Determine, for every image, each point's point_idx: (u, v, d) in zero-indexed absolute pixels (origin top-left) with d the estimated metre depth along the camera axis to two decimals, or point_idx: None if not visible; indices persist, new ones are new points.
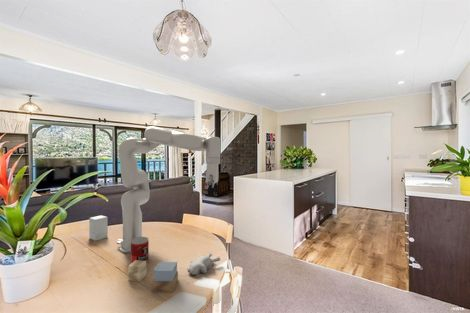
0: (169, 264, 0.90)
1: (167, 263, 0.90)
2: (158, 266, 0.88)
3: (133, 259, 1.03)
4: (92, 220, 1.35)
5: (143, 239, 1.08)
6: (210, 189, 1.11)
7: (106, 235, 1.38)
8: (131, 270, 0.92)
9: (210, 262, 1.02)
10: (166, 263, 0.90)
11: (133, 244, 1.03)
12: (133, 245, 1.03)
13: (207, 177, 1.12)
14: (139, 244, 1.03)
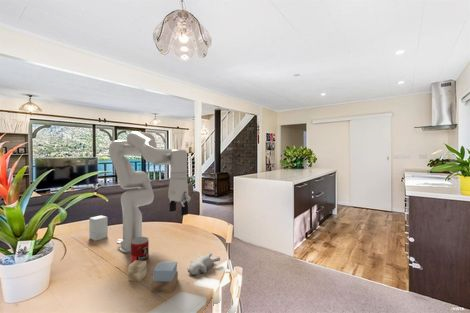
0: (169, 264, 0.90)
1: (167, 263, 0.90)
2: (158, 266, 0.88)
3: (133, 259, 1.03)
4: (92, 220, 1.35)
5: (143, 239, 1.08)
6: (185, 208, 1.01)
7: (106, 235, 1.38)
8: (131, 270, 0.92)
9: (210, 262, 1.02)
10: (165, 263, 0.90)
11: (133, 244, 1.03)
12: (133, 245, 1.03)
13: (181, 195, 1.00)
14: (139, 244, 1.03)
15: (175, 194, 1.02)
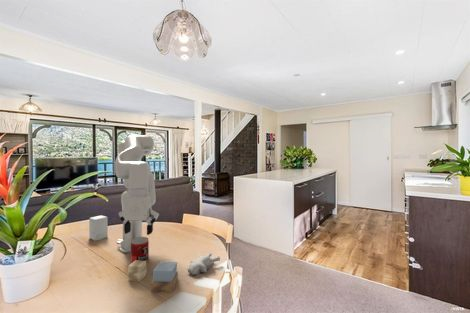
0: (169, 264, 0.90)
1: (167, 263, 0.90)
2: (158, 266, 0.88)
3: (133, 259, 1.03)
4: (92, 220, 1.35)
5: (143, 239, 1.08)
6: (151, 226, 0.93)
7: (106, 235, 1.38)
8: (131, 270, 0.92)
9: (210, 262, 1.02)
10: (165, 263, 0.90)
11: (133, 244, 1.03)
12: (133, 245, 1.03)
13: (147, 213, 0.92)
14: (139, 244, 1.03)
15: (138, 213, 0.91)
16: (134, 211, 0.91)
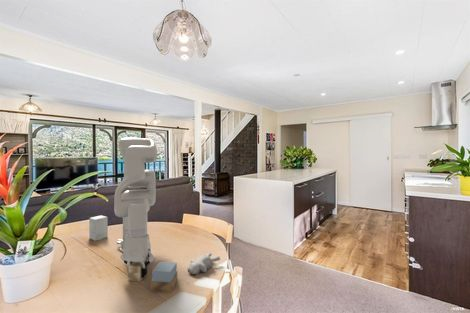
0: (168, 264, 0.89)
1: (166, 264, 0.90)
2: (157, 266, 0.88)
3: None
4: (92, 220, 1.35)
5: None
6: (146, 268, 0.93)
7: (106, 235, 1.38)
8: (131, 270, 0.92)
9: (210, 261, 1.02)
10: (165, 264, 0.90)
11: None
12: None
13: (146, 254, 0.92)
14: None
15: (137, 254, 0.91)
16: (133, 252, 0.91)
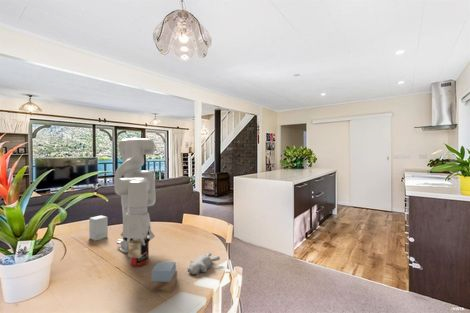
0: (167, 264, 0.90)
1: (165, 263, 0.90)
2: (156, 266, 0.88)
3: (133, 259, 1.03)
4: (92, 220, 1.35)
5: None
6: (145, 246, 0.94)
7: (106, 235, 1.38)
8: (131, 247, 0.92)
9: (210, 261, 1.03)
10: (164, 263, 0.90)
11: None
12: None
13: (146, 231, 0.92)
14: None
15: (137, 231, 0.91)
16: (133, 229, 0.92)
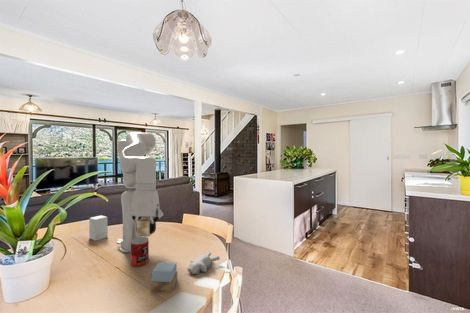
0: (168, 264, 0.89)
1: (166, 264, 0.90)
2: (157, 266, 0.88)
3: (133, 259, 1.03)
4: (92, 220, 1.35)
5: (143, 239, 1.08)
6: (154, 224, 0.91)
7: (106, 235, 1.38)
8: (139, 225, 0.90)
9: (210, 261, 1.03)
10: (165, 264, 0.90)
11: (133, 244, 1.03)
12: (133, 245, 1.03)
13: (155, 208, 0.89)
14: (139, 244, 1.03)
15: (146, 208, 0.89)
16: (141, 207, 0.89)
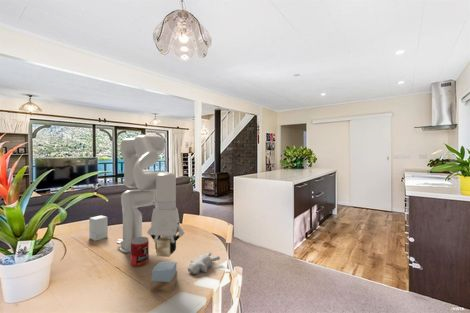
0: (168, 264, 0.89)
1: (166, 263, 0.90)
2: (157, 266, 0.88)
3: (133, 259, 1.03)
4: (92, 220, 1.35)
5: (143, 239, 1.08)
6: (175, 243, 0.88)
7: (106, 235, 1.38)
8: (159, 245, 0.86)
9: (210, 261, 1.03)
10: (165, 263, 0.90)
11: (133, 244, 1.03)
12: (133, 245, 1.03)
13: (176, 227, 0.86)
14: (139, 244, 1.03)
15: (166, 227, 0.85)
16: (162, 226, 0.85)
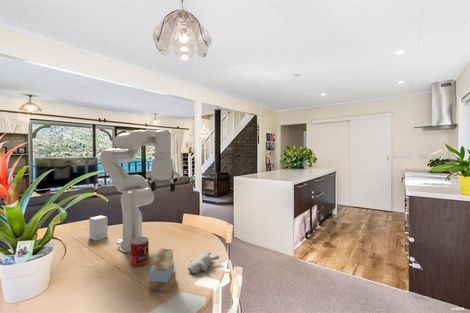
0: None
1: None
2: (154, 266, 0.88)
3: (133, 259, 1.03)
4: (92, 220, 1.35)
5: (143, 239, 1.08)
6: (174, 184, 1.09)
7: (106, 235, 1.38)
8: (157, 258, 0.86)
9: (210, 260, 1.04)
10: None
11: (133, 244, 1.03)
12: (133, 245, 1.03)
13: (171, 173, 1.08)
14: (139, 244, 1.03)
15: (163, 173, 1.07)
16: (160, 171, 1.07)
